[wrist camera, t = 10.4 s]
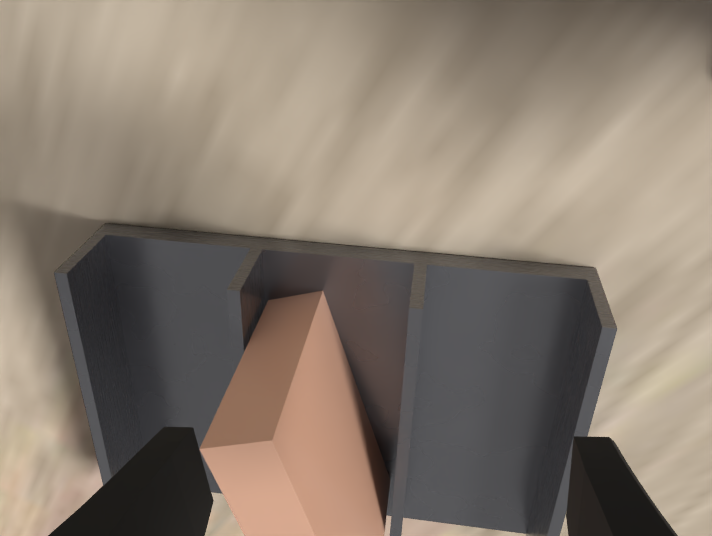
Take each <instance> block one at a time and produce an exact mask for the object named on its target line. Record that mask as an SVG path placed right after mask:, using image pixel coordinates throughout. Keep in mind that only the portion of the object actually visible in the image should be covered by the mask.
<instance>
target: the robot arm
mask: <svg viewBox="0 0 712 536" xmlns="http://www.w3.org/2000/svg"><path fill="white" fill-rule="evenodd" d="M212 504H213V497H212V494H211V490H210V486H209V483H208V479H207V476H206V472H205V468H204V465H203V461H202V457H201V454H200V450H199V446H198V443H197V439H196V435H195V432H194V428H193V427H163V428H162V429H161V430H160V431H159V432H158V433H157V434H156V435H155V436H154V437H153V438H152V439H151V440H150V441H149V442H148V443H147V444H146V445H145V446H144V447H143V448H142V449H141V450H139V451H138V452H137V453H136V454H135V455H134V456H133V457H132V458H131V459H130V460H129V461H128V462H127V463H126V464H125V465H124V466H123V467H122V468H121V469H120V470H119V471H118V472H117V473H116V474H115V475H114V476H113V477H112V478H111V479H110V480H109V481H108V482H107V483H106V484H105V485H104V486H102V487H101V488H100V489H99V490H98V491H97V492H96V493H95V494H94V495H93V496H92V497H91V498H90V499H89V500H88V501H87V502H86V503H85V504H83V505H82V506H81V507H80V508H79V509H78V510H77V511H76V512H75V513H73V514H72V515H71V516H70V517H69V518H68V519H67V520H66V521H64V522H63V523H62V524H61V525H60V526H59V527H58V528H56V529H55V530H54V531H53V532H52V533H51V534H50V535H48V536H204V535H205V532H206V528H207V524H208V520H209V516H210V512H211V508H212ZM566 518H567V526H568V534H569V536H677V534H676V533H675V532H674V530H673V529H672V528H671V526H670V525H669V524H668V522H667V521H666V519H665V518H664V517H663V515H662V514H661V513H660V511H659V510H658V508H657V507H656V506H655V504H654V503H653V501H652V500H651V499H650V497H649V496H648V494H647V493H646V491H645V490H644V488H643V487H642V485H641V484H640V482H639V481H638V479H637V478H636V476H635V475H634V473H633V472H632V470H631V468H630V467H629V465H628V464H627V462H626V460H625V459H624V457H623V455H622V454H621V452H620V450H619V449H618V447H617V445H616V444H615V442H614V441H613V440H612V439H611V438H609V437H580V436H574V437H573V448H572V459H571V469H570V480H569V491H568V501H567V512H566Z"/></svg>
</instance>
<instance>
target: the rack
mask: <svg viewBox="0 0 712 536" xmlns="http://www.w3.org/2000/svg"><path fill="white" fill-rule="evenodd" d="M54 275H55V279H56V283H57V288H58V292H59V296H60V301H61V305H62V309H63V314H64V318H65V322H66V326H67V331H68V335H69V339H70V344H71V348H72V352H73V357H74V361H75V365H76V370H77V374H78V378H79V383H80V387H81V391H82V396H83V400H84V404H85V408H86V413H87V417H88V421H89V426H90V430H91V434H92V439H93V443H94V447H95V452H96V456H97V460H98V465H99V469H100V473H101V478H102V482H103V486H104V485H105V484H106V483H107V482H108V481H109V480H110V479H111V478H112V477H113V476H114V475H115V474H116V473H117V472H118V471H119V470H120V469H121V468H122V467H123V466H124V465H125V464H126V463H127V462H128V461H129V460H130V459H131V458H132V457H133V456H134V455H135V454H136V453H137V452H138V451H139V450H141V449H142V448H143V447H144V446H145V445H146V444H147V443H148V442H149V441H150V440H151V439H152V438H153V437H154V436H155V435H156V434H157V433H158V432H159V431H160V430H161V429H162V428H163V427H193V428H194V432H195V435H196V439H197V443H198V446H199V450H200V447H201V445H202V442H203V440H204V438H205V436H206V434H207V432H208V429H209V427H210V425H211V423H212V421H213V419H214V416H215V414H216V412H217V410H218V408H219V406H220V403H221V401H222V399H223V397H224V395H225V393H226V390H227V388H228V386H229V384H230V382H231V380H232V377H233V375H234V373H235V371H236V369H237V367H238V364H239V362H240V360H241V358H242V356H243V354H244V351H245V349H246V347H247V345H248V343H249V341H250V338H251V336H252V334H253V332H254V330H255V328H256V325H257V323H258V321H259V319H260V317H261V315H262V312H263V310H264V308H265V306H266V304H267V302H268V300H272V299H278V298H284V297H289V296H295V295H301V294H306V293H312V292H317V291H323V292H324V295H325V298H326V301H327V303H328V306H329V309H330V312H331V315H332V317H333V320H334V323H335V326H336V329H337V331H338V334H339V337H340V340H341V343H342V346H343V348H344V351H345V354H346V357H347V360H348V362H349V365H350V368H351V371H352V374H353V376H354V379H355V382H356V385H357V388H358V390H359V393H360V396H361V399H362V402H363V404H364V407H365V410H366V413H367V416H368V418H369V421H370V424H371V427H372V430H373V432H374V435H375V438H376V441H377V444H378V446H379V449H380V452H381V455H382V458H383V461H384V463H385V466H386V469H387V472H388V475H389V477H390V489H389V497H388V506H387V514H386V515H388V516H392V517H391V529H390V536H401V532H402V521H403V518H411V519H418V520H426V521H433V522H441V523H449V524H456V525H464V526H471V527H479V528H486V529H494V530H502V531H509V532H517V533H524V534H526V536H560V532H561V529H562V525H563V521H564V518H565V514H566V511H567V501H568V491H569V480H570V469H571V459H572V448H573V437H574V436H580V437H587V435H588V432H589V428H590V425H591V421H592V417H593V414H594V410H595V407H596V403H597V399H598V396H599V392H600V389H601V385H602V381H603V378H604V374H605V371H606V367H607V364H608V360H609V356H610V353H611V349H612V346H613V342H614V338H615V335H616V331H617V327H616V324H615V321H614V318H613V315H612V313H611V310H610V307H609V304H608V301H607V298H606V295H605V293H604V290H603V287H602V284H601V281H600V278H599V276H598V273H597V270H596V268H589V267H578V266H567V265H556V264H545V263H534V262H523V261H512V260H501V259H490V258H479V257H468V256H458V255H447V254H436V253H425V252H414V251H403V250H392V249H381V248H370V247H359V246H348V245H337V244H326V243H315V242H304V241H293V240H282V239H271V238H260V237H249V236H238V235H227V234H216V233H205V232H194V231H183V230H172V229H161V228H150V227H139V226H128V225H117V224H106V223H105V224H104V225H103V226H102V227H101V228H100V229H99V230H98V231H97V232H96V233H95V234H94V235H93V236H92V237H91V238H90V239H89V240H87V241H86V242H85V243H84V244H83V245H82V246H81V247H80V248H79V249H78V250H77V251H76V252H75V253H74V254H73V255H72V256H71V257H70V258H69V259H68V260H67V261H66V262H64V263H63V264H62V265H61V266H60V267H59V268H58V269H57V270H56V271H55V272H54ZM200 454H201V457H202V461H203V465H204V468H205V472H206V476H207V479H208V483H209V486H210V490H211V492H214V493H221V494H223V493H222V491H221V489H220V488H219V486H218V484H217V482H216V480H215V478H214V476H213V474H212V472H211V470H210V468H209V466H208V465H207V463H206V461H205V459H204V457H203V455H202V453H201V451H200Z"/></svg>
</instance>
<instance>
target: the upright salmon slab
mask: <svg viewBox="0 0 712 536" xmlns="http://www.w3.org/2000/svg"><path fill="white" fill-rule="evenodd" d="M200 451H201V453H202V455H203V457H204V459H205V461H206V463H207V465H208V466H209V468H210V470H211V472H212V474H213V476H214V478H215V480H216V482H217V484H218V486H219V488H220V489H221V491H222V493H223V495H224V497H225V499H226V501H227V503H228V505H229V507H230V509H231V510H232V512H233V514H234V516H235V518H236V520H237V522H238V524H239V526H240V528H241V530H242V531H243V533H244V535H245V536H384V531H385V523H386V514H387V506H388V497H389V489H390V477H389V475H388V472H387V469H386V466H385V463H384V461H383V458H382V455H381V452H380V449H379V446H378V444H377V441H376V438H375V435H374V432H373V430H372V427H371V424H370V421H369V418H368V416H367V413H366V410H365V407H364V404H363V402H362V399H361V396H360V393H359V390H358V388H357V385H356V382H355V379H354V376H353V374H352V371H351V368H350V365H349V362H348V360H347V357H346V354H345V351H344V348H343V346H342V343H341V340H340V337H339V334H338V331H337V329H336V326H335V323H334V320H333V317H332V315H331V312H330V309H329V306H328V303H327V301H326V298H325V295H324V292H323V291H317V292H312V293H306V294H301V295H295V296H289V297H284V298H278V299H272V300H268V302H267V304H266V306H265V308H264V310H263V312H262V315H261V317H260V319H259V321H258V323H257V325H256V328H255V330H254V332H253V334H252V336H251V338H250V341H249V343H248V345H247V347H246V349H245V351H244V354H243V356H242V358H241V360H240V362H239V364H238V367H237V369H236V371H235V373H234V375H233V377H232V380H231V382H230V384H229V386H228V388H227V390H226V393H225V395H224V397H223V399H222V401H221V403H220V406H219V408H218V410H217V412H216V414H215V416H214V419H213V421H212V423H211V425H210V427H209V429H208V432H207V434H206V436H205V438H204V440H203V442H202V445H201V447H200Z"/></svg>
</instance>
